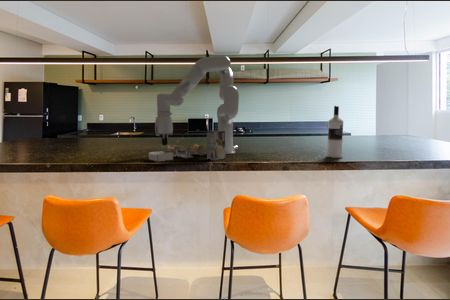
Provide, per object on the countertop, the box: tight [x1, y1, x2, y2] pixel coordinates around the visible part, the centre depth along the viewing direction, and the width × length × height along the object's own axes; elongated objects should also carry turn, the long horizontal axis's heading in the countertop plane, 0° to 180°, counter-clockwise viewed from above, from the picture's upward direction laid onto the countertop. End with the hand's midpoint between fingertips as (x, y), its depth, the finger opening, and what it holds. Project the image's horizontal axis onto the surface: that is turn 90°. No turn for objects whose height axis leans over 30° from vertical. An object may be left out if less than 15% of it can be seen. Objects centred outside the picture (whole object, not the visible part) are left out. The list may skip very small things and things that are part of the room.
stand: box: [164, 150, 203, 159], centre depth 187 cm, size 21×17×4 cm
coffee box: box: [206, 130, 226, 161], centre depth 175 cm, size 9×6×16 cm
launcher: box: [160, 144, 204, 154], centre depth 188 cm, size 21×14×4 cm
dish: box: [148, 150, 174, 163], centre depth 174 cm, size 10×10×4 cm
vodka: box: [325, 105, 344, 159], centre depth 179 cm, size 9×9×30 cm
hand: (164, 144), depth 185 cm, fingers closed
